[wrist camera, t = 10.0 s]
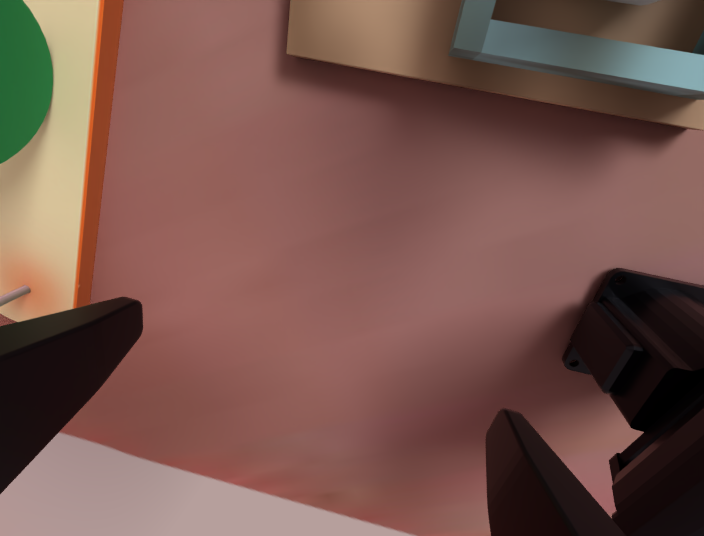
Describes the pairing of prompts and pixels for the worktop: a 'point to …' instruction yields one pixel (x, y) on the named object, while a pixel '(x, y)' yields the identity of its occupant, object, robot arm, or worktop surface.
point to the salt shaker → (635, 1)
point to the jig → (523, 49)
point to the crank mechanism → (53, 148)
